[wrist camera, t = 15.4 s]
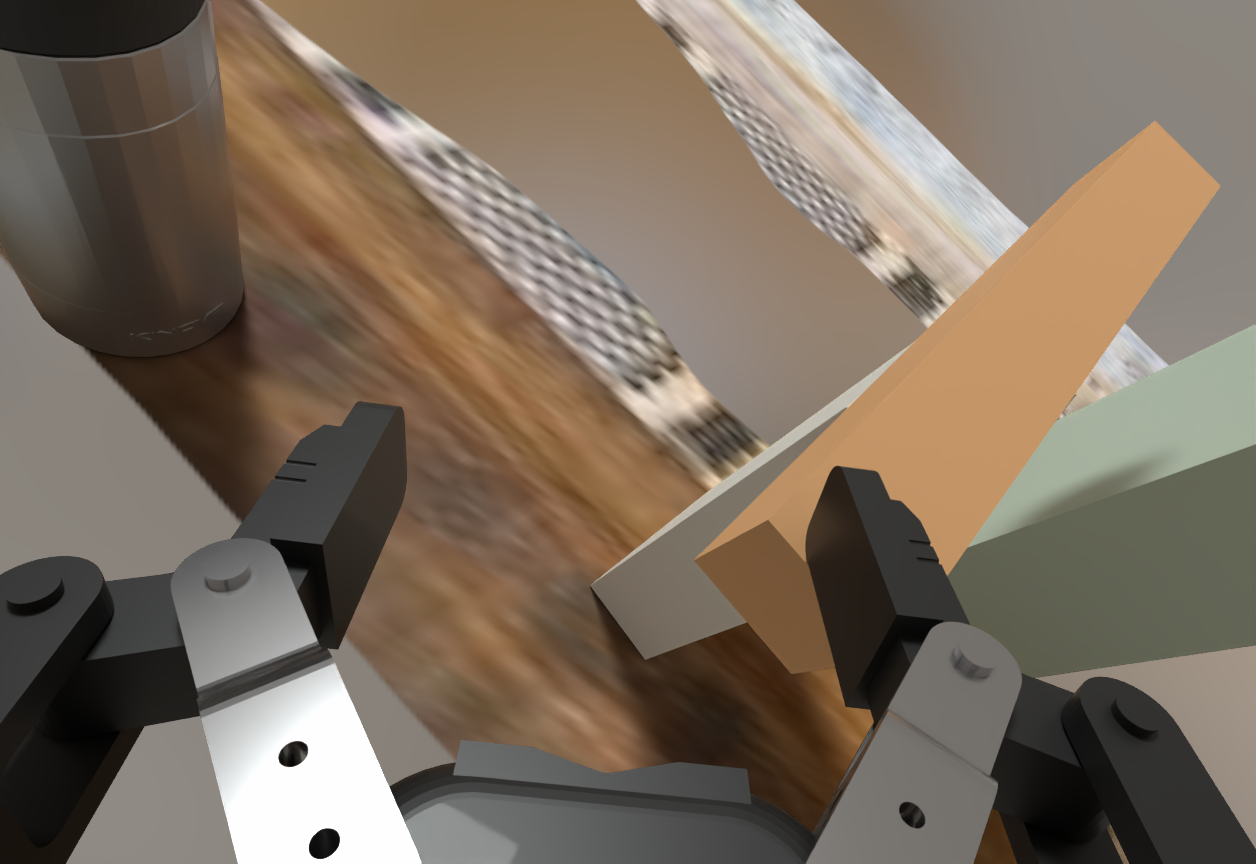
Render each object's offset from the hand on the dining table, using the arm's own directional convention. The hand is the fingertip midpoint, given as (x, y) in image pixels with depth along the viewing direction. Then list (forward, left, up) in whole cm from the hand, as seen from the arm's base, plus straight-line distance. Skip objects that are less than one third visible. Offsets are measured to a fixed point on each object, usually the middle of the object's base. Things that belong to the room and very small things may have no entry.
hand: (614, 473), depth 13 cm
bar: (+3, +15, -2) cm, 16 cm away
